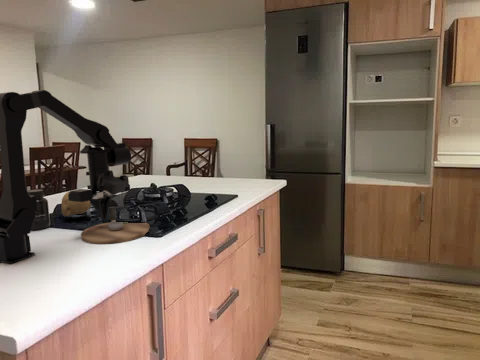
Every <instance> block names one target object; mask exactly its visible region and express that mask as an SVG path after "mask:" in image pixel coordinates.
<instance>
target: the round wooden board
mask: <svg viewBox="0 0 480 360" xmlns="http://www.w3.org/2000/svg"><path fill="white" fill-rule="evenodd" d="M109 223H111V221H110V222H105V223H104V222H103V223H99V224H96V225H92V226H90V227H88V228H86V229H84V230H83V231H81V233H80V236H81V240H82V242H84V243H88V244H95V245H108V244H109V245H111V244H120V243H124V242H125V243H126V242H130V241H134V240H137V239H140V238H142V237H145V236H146V235H147V234H146V233H147V232H148V231H149V229H150V224H149V223H147V222H145V223H128V222H123V229H120V230H109V226H108V224H109ZM149 232H150V231H149ZM145 234H146V235H145Z"/></svg>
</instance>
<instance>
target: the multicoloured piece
mask: <svg viewBox="0 0 480 360" xmlns="http://www.w3.org/2000/svg"><path fill="white" fill-rule="evenodd" d="M116 210H117V209H116V206H109V208H108V217H109V219H108V220H109V221H110V222H111V223H109V222H108V223H109V224H108V226H109V230H120V229H123V222H116V220H117V211H116Z"/></svg>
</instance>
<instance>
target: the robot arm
mask: <svg viewBox="0 0 480 360" xmlns="http://www.w3.org/2000/svg"><path fill="white" fill-rule="evenodd" d="M32 109H40V110H42V111H43V112H44V113H45V114H48V115H49V116H51V117H53V118H54V119H56V120H57V121H59V122H61V124H64V125H65V126H66V127H68V128H70V129H71V130H73V132H75V134H76V136H77V137H78V138H79V139H80V140H81V141H82V142H83V143H84V144H85V145H84V146H83V148H82V149H81V150H80V151H79V154H81V155H83V154H85V155H87V157H86V158H87V167H88V171H85V176H88V177H89V185H87V186H86V187H87V189H86V188H78V189H72V190H69V191H70V192H69V191H68V192H69V194H68V198H69V201H76V202H85V201H90V204H91V206H93V208H94V210H96V212H97V214H98V215H99V218H101V220H105V219H106V218H107V216H108V215H107V214H108V212H109V207H110V204H111V202H112V201H113V199H115V198H116V197H117V195H118V194H120V193H121V194H122V193H123V194H124V193H126V192H130V191H131V185H130V181H129V176H128V175H125V174H123V175H122V174H121V175H119V176H114V172H113V170H110V167H115V166H121V165H127V164H129V163H130V162H131V159H132V153H131V151H130V149H129V148H128V147H127V146H126V145H127V144H126V143H125V142H116V140H115V138H114V137H113V136H112V134H111V133H110V129H109V128H108V127H107V125H104V124H101V123H100V122H98V121H95V120H91V119H89V118H86V117H84V116H83V115H81V114H80V113H78V112H77V111H76V110H74V109H72V108H71V107H70V106H68V105H67V104H65V103H64V102H62V101H61V100H59V99H58V98H57V97H55V96H54V95H52V93H51V92H50V91H48V90H45V89H39V90H33V91H31V92H27V93H26V92H25V93H21V94H20V93H19V92H14V91H8V92H0V162H1V164H0V165H1V173H2V174H1V175H2V184H3V185H2V186H3V191H2V194H1V197H0V263H7V264H14V263H17V262H19V261H22V260H25V259H26V258H29V257H33V256H35V252H34V251H32V246H31V241H30V235H29V234H31V232H32V230H31V227H32V222H33V221H34V220H35V218H36V212H39V211H38V209H37V197H36V196H33V195H29V193H28V191H29V190H28V189H27V183H26V182H27V181H26V171H25V158H24V157H25V156H24V146H23V136H22V130H23V127H24V125H25V123H26V120H27V112H28V110H32ZM92 146H93V147H92Z"/></svg>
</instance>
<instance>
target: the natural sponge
mask: <svg viewBox="0 0 480 360" xmlns="http://www.w3.org/2000/svg"><path fill="white" fill-rule="evenodd" d="M70 191H71V190H69V191H68V192H66V193H65V194H64V195H63V196H62V198H61V213H62V215H63V216H64V217H66V216H69V215H73V214H82V213H84V212H86V211H87V210H88V209H89V208H90V209H91V206H92V204H91V202H90V201H85V202H76V201H69V198H68V194H69V192H70ZM90 209H89V210H90ZM89 210H88V211H89ZM88 211H87V212H88ZM87 212H86V213H87ZM84 214H85V213H84Z"/></svg>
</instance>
